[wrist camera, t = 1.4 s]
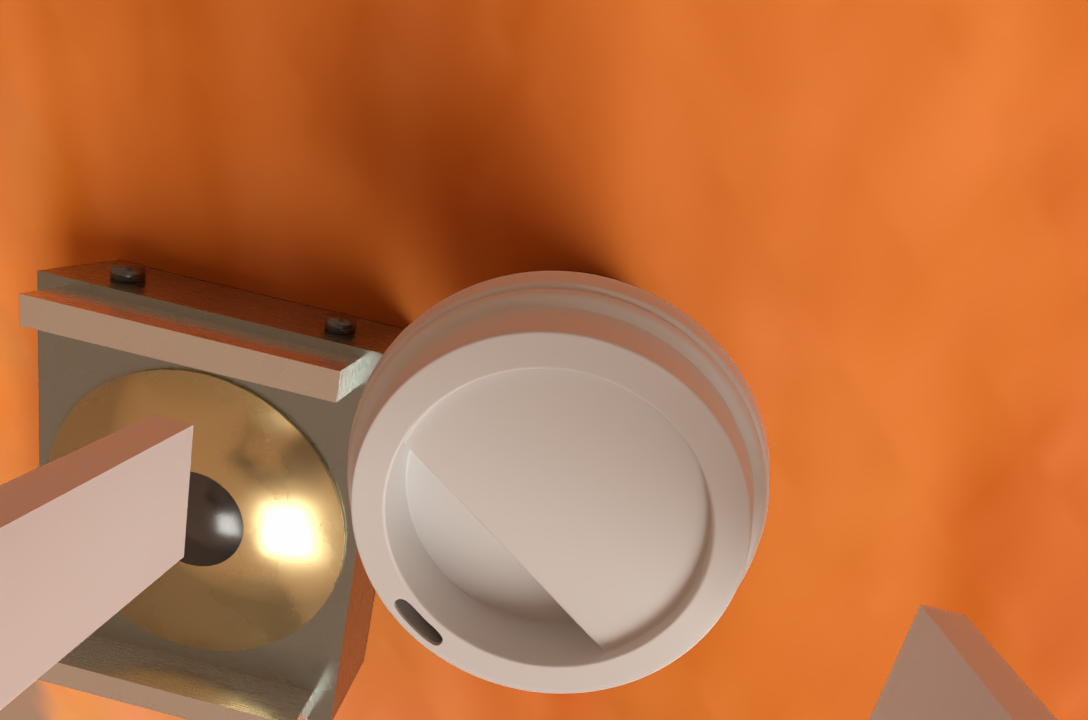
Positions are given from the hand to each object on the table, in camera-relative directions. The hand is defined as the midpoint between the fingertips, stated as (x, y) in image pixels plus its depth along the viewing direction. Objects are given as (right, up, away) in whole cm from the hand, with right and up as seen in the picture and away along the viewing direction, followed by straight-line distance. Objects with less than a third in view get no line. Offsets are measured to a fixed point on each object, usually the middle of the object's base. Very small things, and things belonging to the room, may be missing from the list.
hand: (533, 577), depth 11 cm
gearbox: (-14, -2, +19) cm, 23 cm away
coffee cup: (+2, +4, +16) cm, 16 cm away
